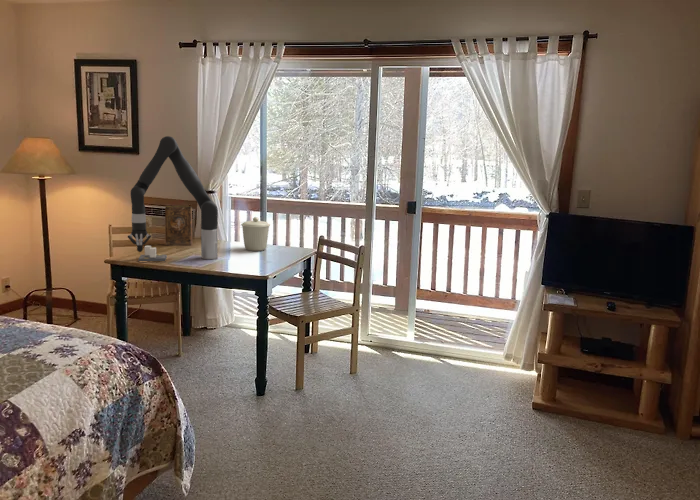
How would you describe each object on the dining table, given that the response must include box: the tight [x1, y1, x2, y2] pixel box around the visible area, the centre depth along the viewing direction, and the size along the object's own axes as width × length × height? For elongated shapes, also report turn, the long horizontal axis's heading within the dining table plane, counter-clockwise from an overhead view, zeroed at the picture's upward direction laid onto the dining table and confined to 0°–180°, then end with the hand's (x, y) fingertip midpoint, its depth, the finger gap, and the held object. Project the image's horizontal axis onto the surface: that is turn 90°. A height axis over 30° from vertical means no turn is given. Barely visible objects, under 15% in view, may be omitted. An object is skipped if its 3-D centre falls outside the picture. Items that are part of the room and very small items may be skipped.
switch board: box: [138, 254, 168, 262], centre depth 317 cm, size 14×10×2 cm
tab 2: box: [150, 247, 157, 258], centre depth 314 cm, size 3×4×5 cm
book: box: [164, 205, 193, 247], centre depth 360 cm, size 16×6×25 cm, turn 105°
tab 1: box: [144, 245, 152, 256], centre depth 318 cm, size 3×4×5 cm
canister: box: [240, 216, 271, 252], centre depth 356 cm, size 18×18×21 cm
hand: (140, 251), depth 317 cm, fingers closed
